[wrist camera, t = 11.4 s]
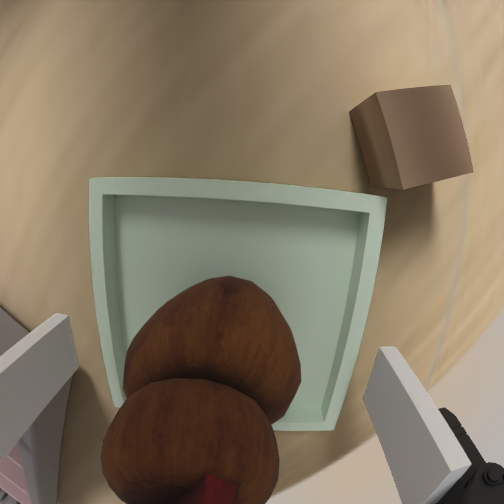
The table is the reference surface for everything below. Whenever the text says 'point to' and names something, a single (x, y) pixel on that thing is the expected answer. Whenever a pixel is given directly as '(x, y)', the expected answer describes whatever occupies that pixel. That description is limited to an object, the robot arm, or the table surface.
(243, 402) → the wooden figurine
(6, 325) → the organizer tray
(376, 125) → the walnut cube
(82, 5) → the table surface
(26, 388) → the robot arm
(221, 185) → the green tray
